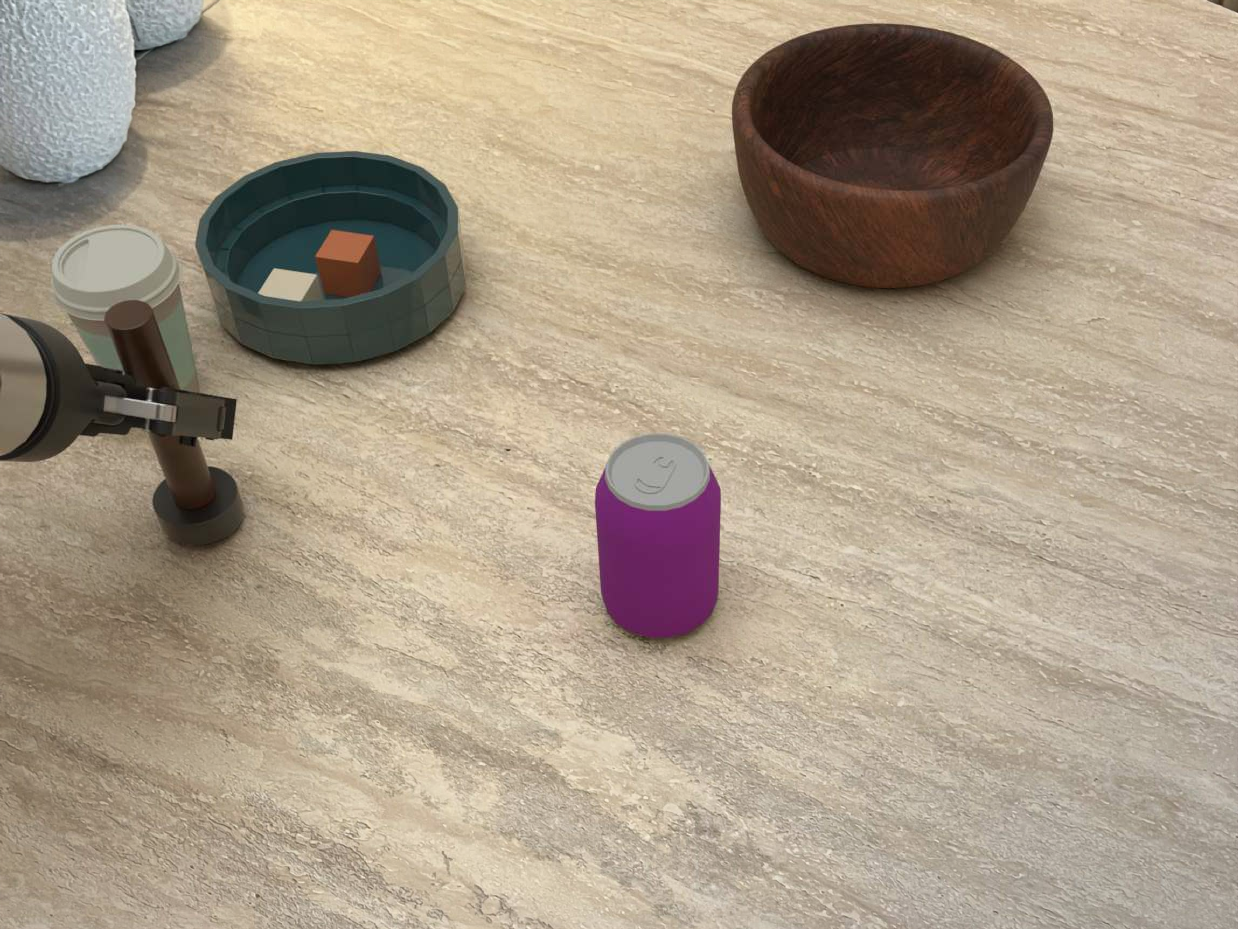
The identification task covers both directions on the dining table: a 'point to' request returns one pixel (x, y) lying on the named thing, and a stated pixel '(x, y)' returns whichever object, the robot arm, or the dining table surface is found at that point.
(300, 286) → the cream block
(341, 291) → the terracotta block
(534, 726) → the dining table surface
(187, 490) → the muddler
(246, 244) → the stir bowl
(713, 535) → the beverage can
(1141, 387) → the dining table surface
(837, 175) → the wooden bowl
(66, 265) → the coffee cup
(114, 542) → the dining table surface
